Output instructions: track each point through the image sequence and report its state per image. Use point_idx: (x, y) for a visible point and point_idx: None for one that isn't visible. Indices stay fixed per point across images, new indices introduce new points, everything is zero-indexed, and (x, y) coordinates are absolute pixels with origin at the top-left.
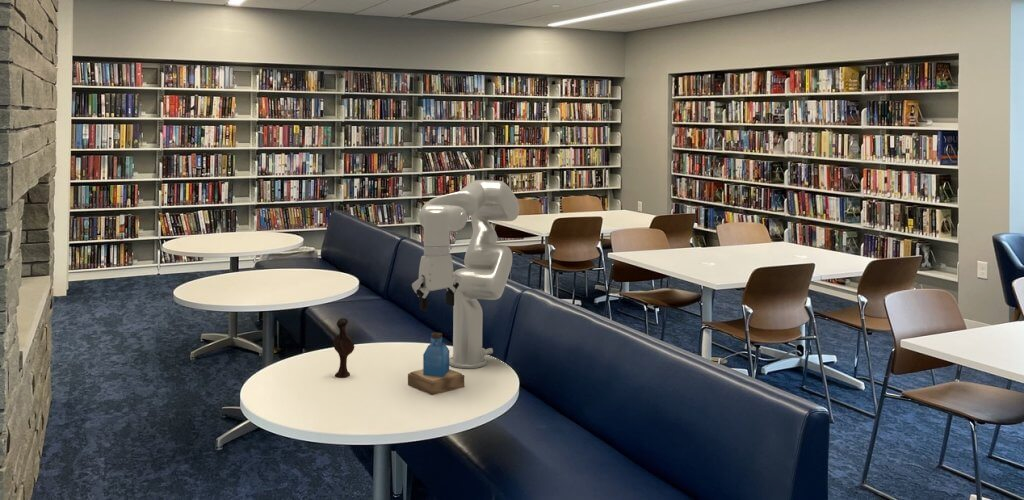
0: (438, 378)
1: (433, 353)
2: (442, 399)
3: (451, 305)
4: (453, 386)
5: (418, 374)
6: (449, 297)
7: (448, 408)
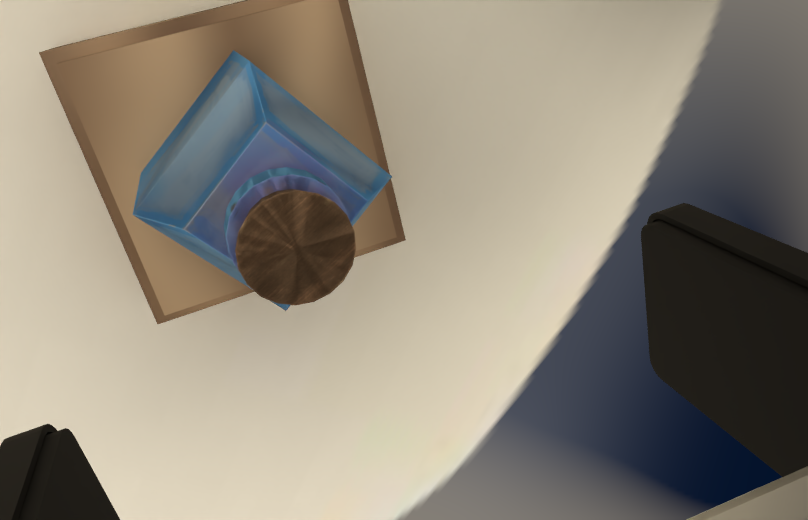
0: (221, 279)
1: (217, 265)
2: (195, 371)
3: (653, 363)
4: None
5: (108, 145)
6: (753, 387)
7: (180, 493)
